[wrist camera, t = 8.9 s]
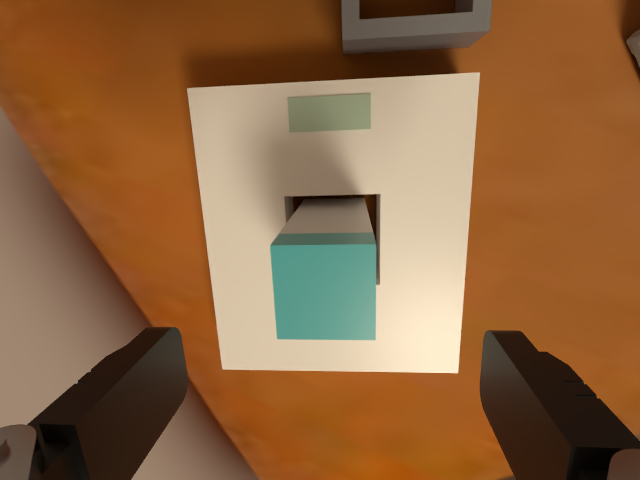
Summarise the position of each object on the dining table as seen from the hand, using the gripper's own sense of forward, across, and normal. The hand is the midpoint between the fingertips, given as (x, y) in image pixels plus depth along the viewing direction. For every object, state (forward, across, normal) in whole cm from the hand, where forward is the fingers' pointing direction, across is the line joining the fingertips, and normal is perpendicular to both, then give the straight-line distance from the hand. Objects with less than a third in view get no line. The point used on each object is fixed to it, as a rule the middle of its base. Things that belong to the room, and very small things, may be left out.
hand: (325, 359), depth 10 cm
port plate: (+13, 0, 0) cm, 13 cm away
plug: (+13, 0, 0) cm, 13 cm away
